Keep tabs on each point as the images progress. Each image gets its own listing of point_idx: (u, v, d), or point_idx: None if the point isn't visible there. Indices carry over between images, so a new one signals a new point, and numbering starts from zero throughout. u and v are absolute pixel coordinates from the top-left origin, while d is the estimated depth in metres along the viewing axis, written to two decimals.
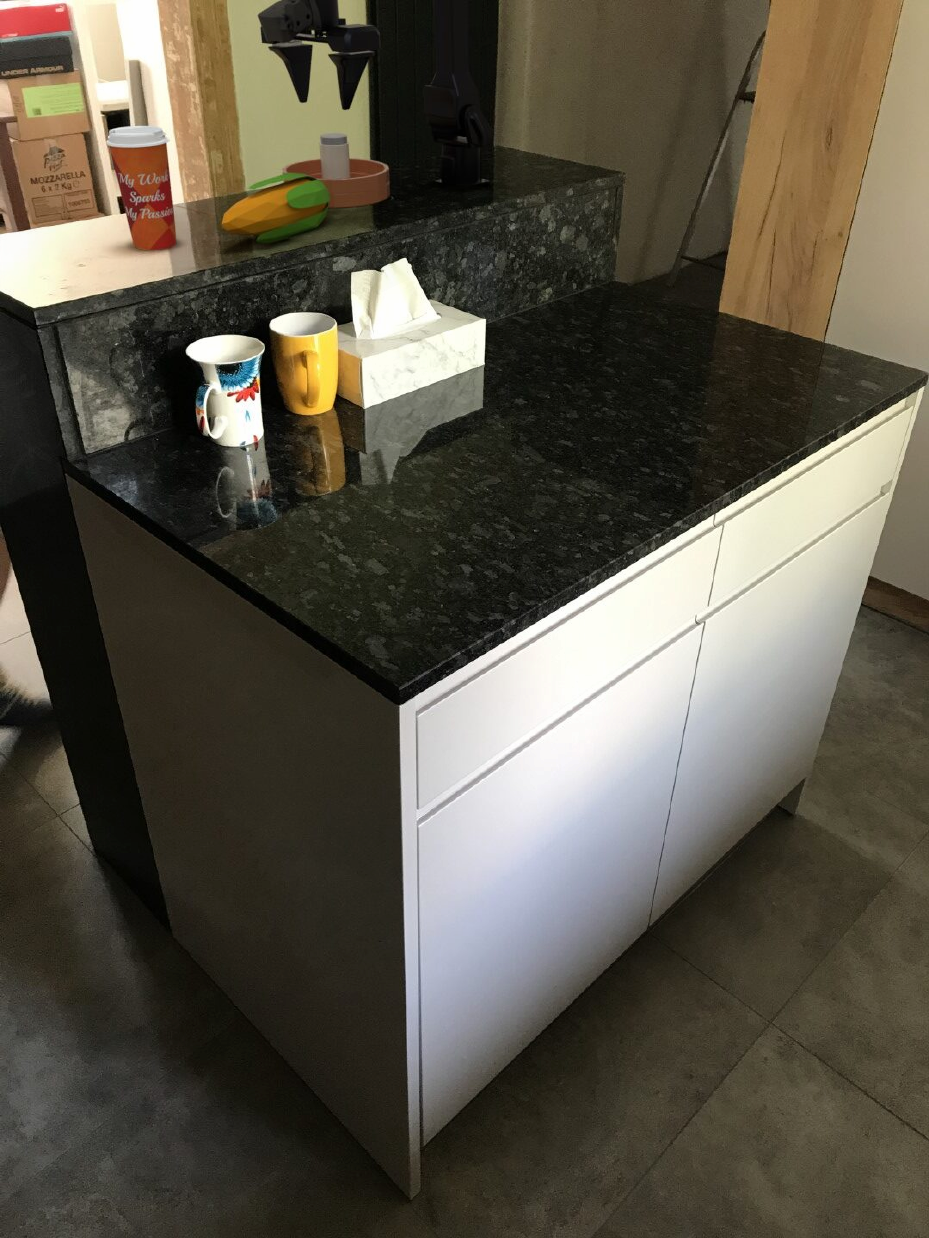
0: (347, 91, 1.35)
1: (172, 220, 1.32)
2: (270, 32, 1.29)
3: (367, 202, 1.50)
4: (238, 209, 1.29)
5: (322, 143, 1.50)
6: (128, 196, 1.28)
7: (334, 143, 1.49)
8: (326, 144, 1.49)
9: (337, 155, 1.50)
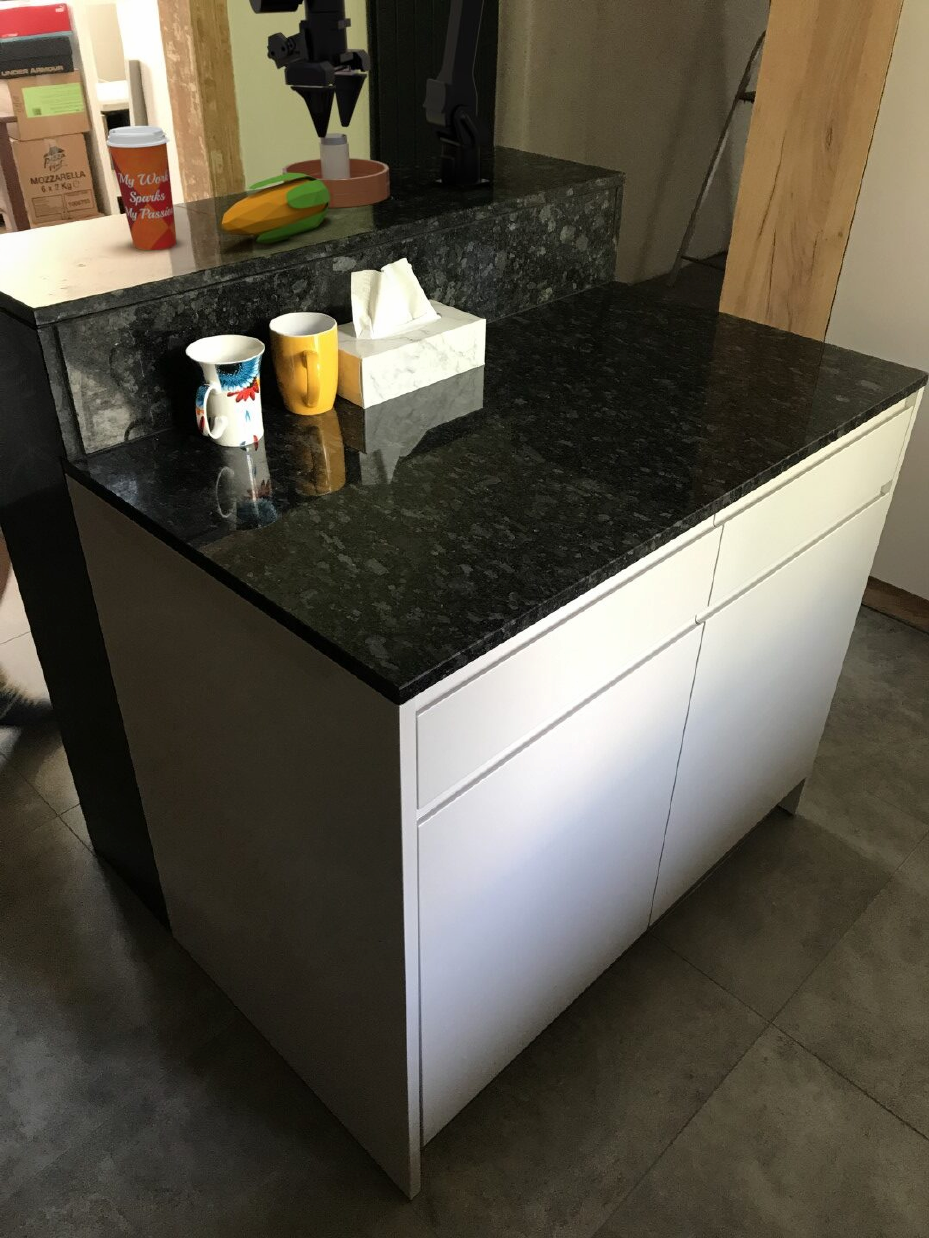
0: (318, 120, 1.44)
1: (172, 220, 1.32)
2: None
3: (367, 202, 1.50)
4: (238, 209, 1.29)
5: (322, 143, 1.50)
6: (128, 196, 1.28)
7: (334, 143, 1.49)
8: (326, 144, 1.49)
9: (337, 155, 1.50)
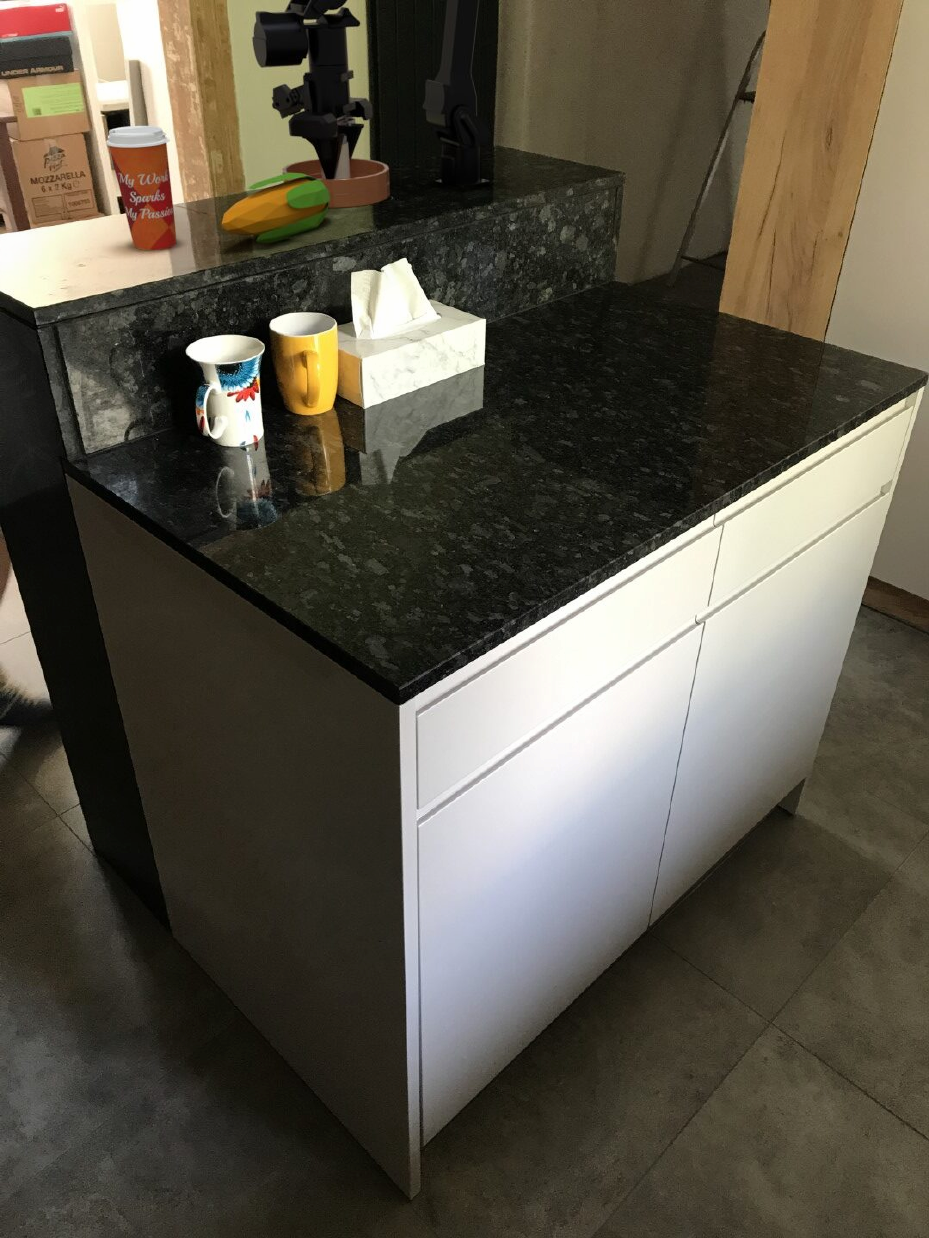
0: (326, 166, 1.50)
1: (172, 220, 1.32)
2: None
3: (367, 202, 1.50)
4: (238, 209, 1.29)
5: None
6: (128, 196, 1.28)
7: None
8: None
9: None
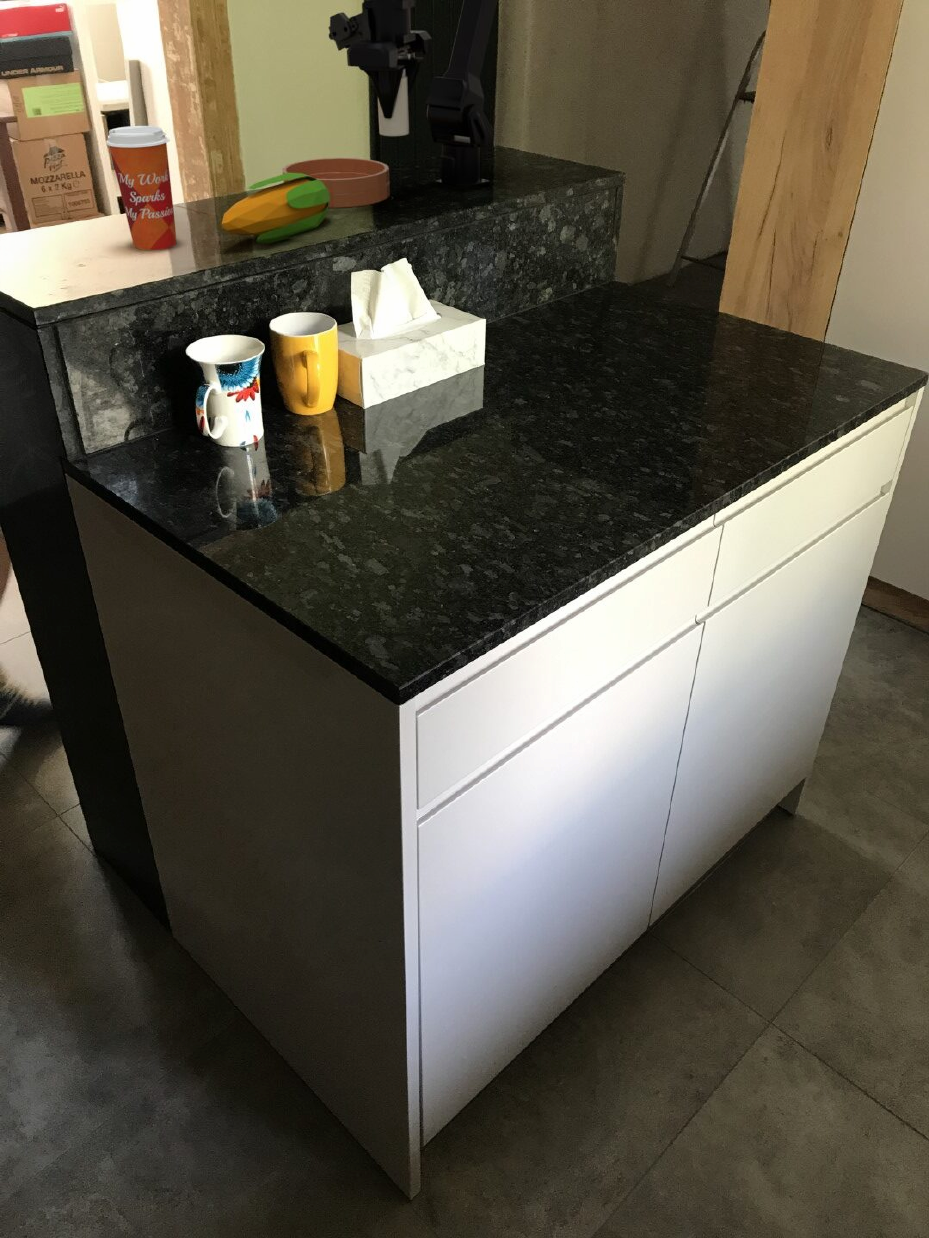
0: (385, 100, 1.43)
1: (172, 220, 1.32)
2: None
3: (367, 202, 1.50)
4: (238, 209, 1.29)
5: None
6: (128, 196, 1.28)
7: None
8: None
9: None
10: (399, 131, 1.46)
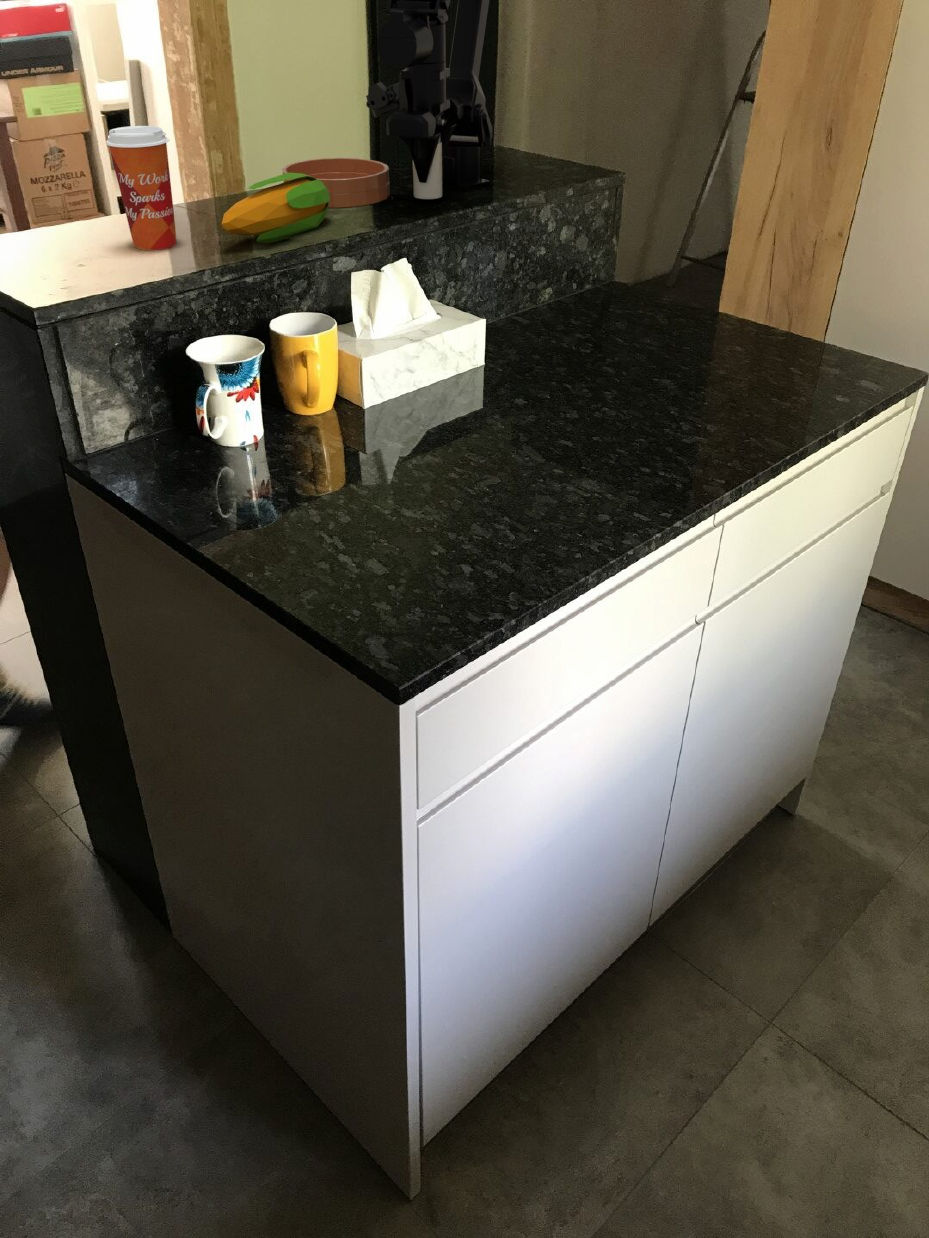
0: (420, 166, 1.46)
1: (172, 220, 1.32)
2: None
3: (367, 202, 1.50)
4: (238, 209, 1.29)
5: None
6: (128, 196, 1.28)
7: None
8: None
9: None
10: (433, 194, 1.49)
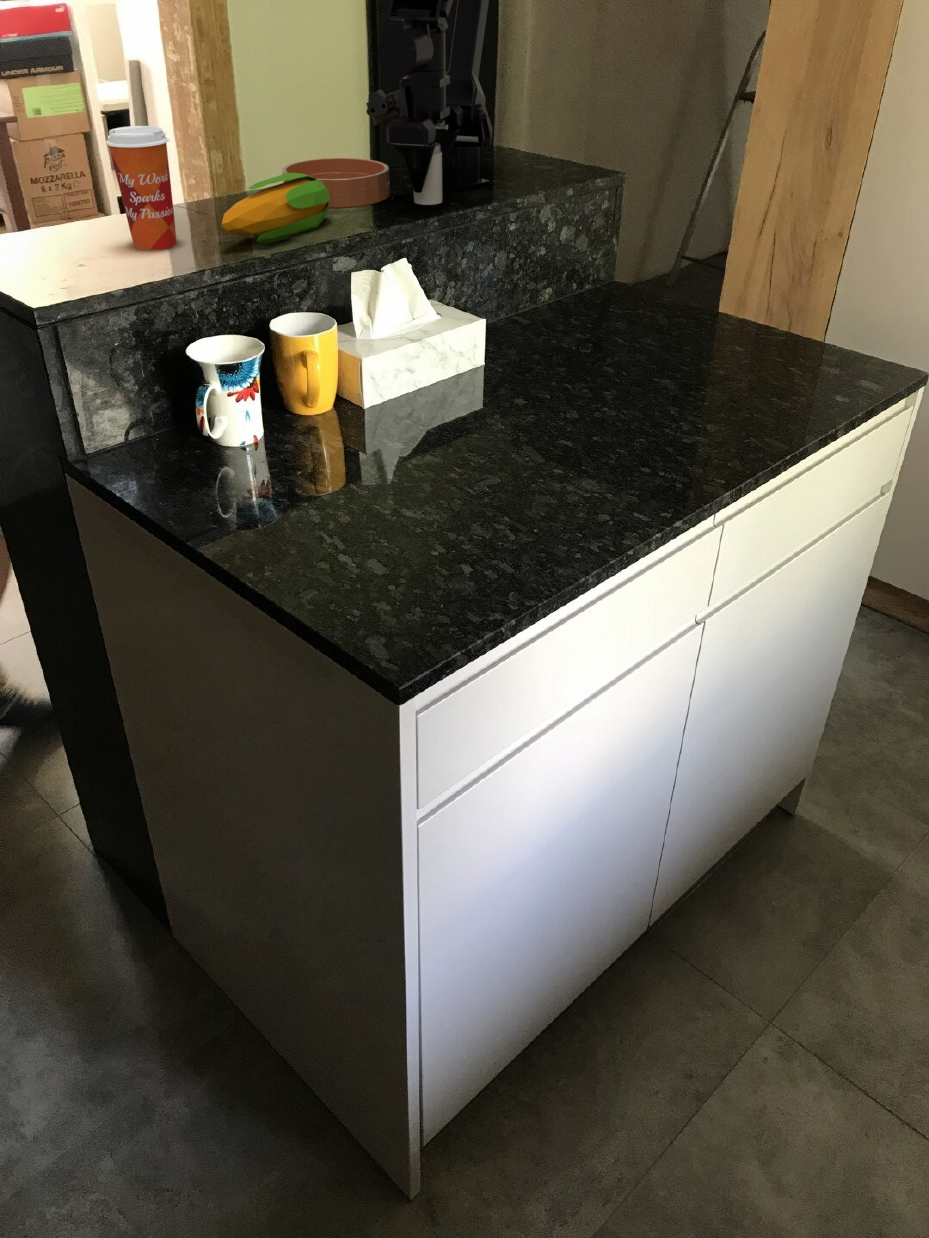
0: (415, 176, 1.45)
1: (172, 220, 1.32)
2: None
3: (367, 202, 1.50)
4: (238, 209, 1.29)
5: None
6: (128, 196, 1.28)
7: None
8: None
9: (431, 164, 1.47)
10: (433, 203, 1.50)
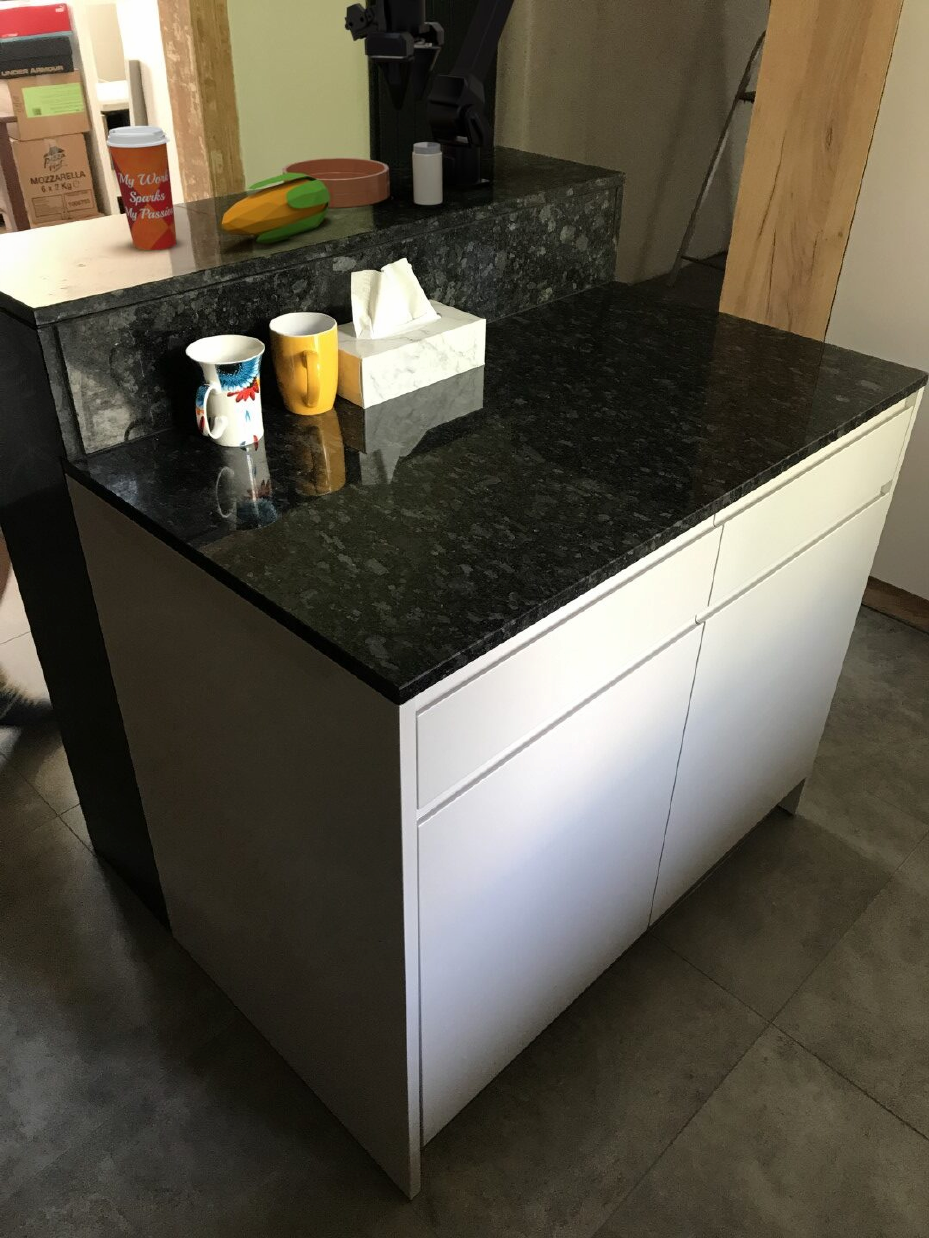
0: (394, 92, 1.44)
1: (172, 220, 1.32)
2: None
3: (367, 202, 1.50)
4: (238, 209, 1.29)
5: (416, 152, 1.47)
6: (128, 196, 1.28)
7: (429, 152, 1.46)
8: (420, 153, 1.46)
9: (431, 164, 1.47)
10: (433, 203, 1.50)
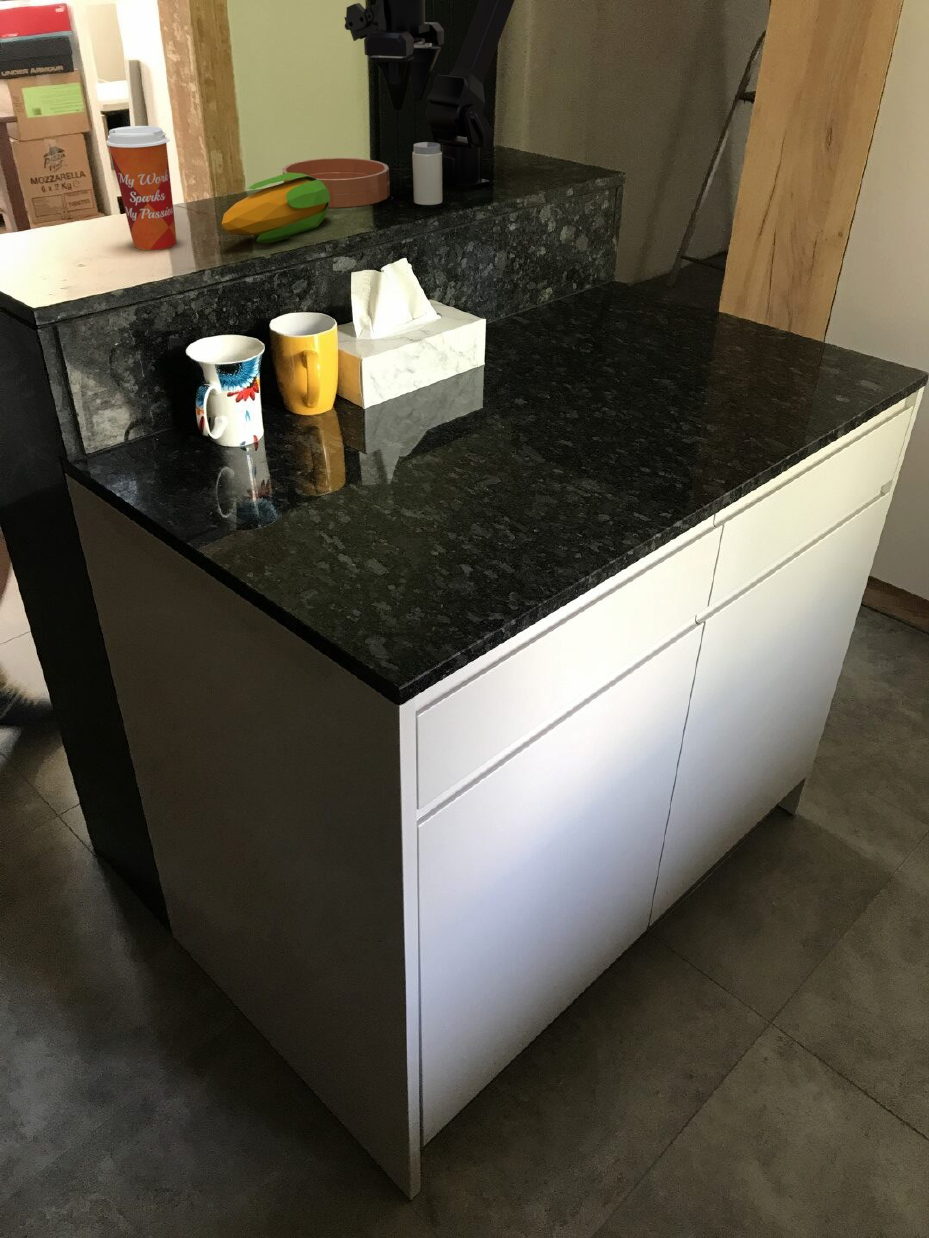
0: (394, 92, 1.44)
1: (172, 220, 1.32)
2: None
3: (367, 202, 1.50)
4: (238, 209, 1.29)
5: (416, 152, 1.47)
6: (128, 196, 1.28)
7: (429, 152, 1.46)
8: (420, 153, 1.46)
9: (431, 164, 1.47)
10: (433, 203, 1.50)
